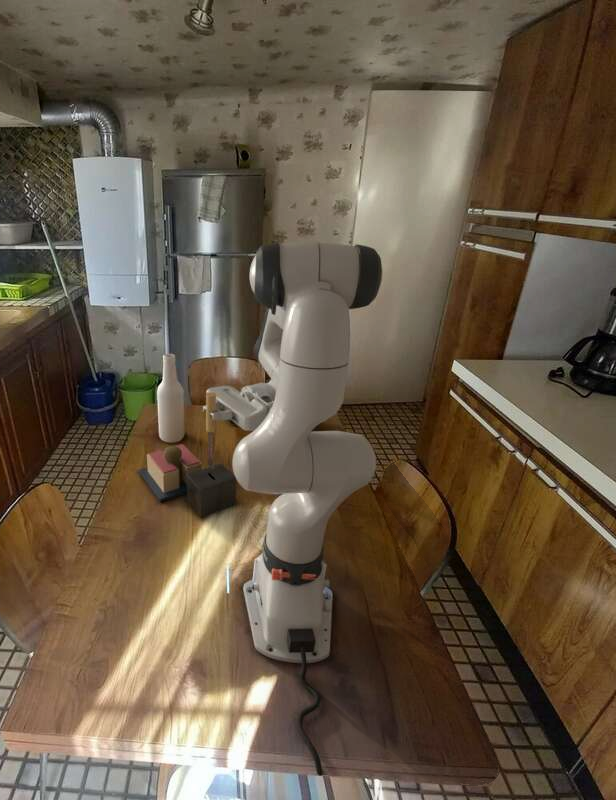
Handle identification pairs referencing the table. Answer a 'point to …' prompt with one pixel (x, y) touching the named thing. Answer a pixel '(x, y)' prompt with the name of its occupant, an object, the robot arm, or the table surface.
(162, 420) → the alcohol
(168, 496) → the twin pink pillar stand
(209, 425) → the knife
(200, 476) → the knife holder
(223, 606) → the table surface
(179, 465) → the brown piece
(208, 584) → the table surface
